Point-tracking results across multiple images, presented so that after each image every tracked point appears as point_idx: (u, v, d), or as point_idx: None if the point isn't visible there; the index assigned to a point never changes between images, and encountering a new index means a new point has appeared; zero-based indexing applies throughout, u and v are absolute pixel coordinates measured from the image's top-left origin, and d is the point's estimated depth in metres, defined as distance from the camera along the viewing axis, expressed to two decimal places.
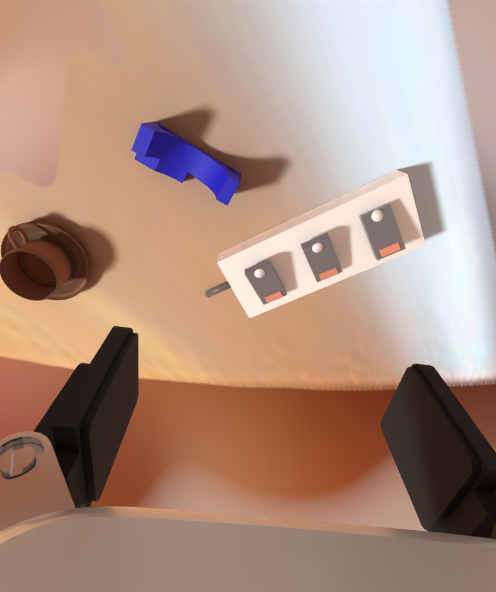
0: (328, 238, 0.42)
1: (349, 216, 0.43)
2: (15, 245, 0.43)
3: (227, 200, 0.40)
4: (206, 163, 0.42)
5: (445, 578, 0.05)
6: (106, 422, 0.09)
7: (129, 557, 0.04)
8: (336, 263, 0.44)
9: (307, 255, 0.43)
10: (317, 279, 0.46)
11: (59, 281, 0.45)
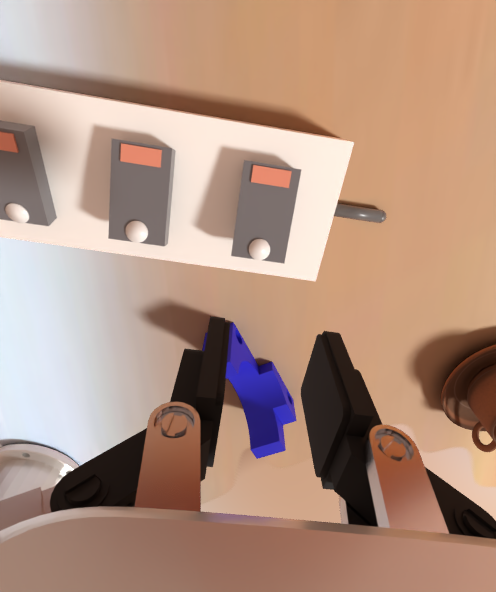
0: (111, 237, 0.22)
1: (74, 224, 0.24)
2: None
3: None
4: None
5: (445, 578, 0.05)
6: None
7: (129, 557, 0.04)
8: (116, 169, 0.21)
9: (161, 226, 0.22)
10: (168, 155, 0.21)
11: None
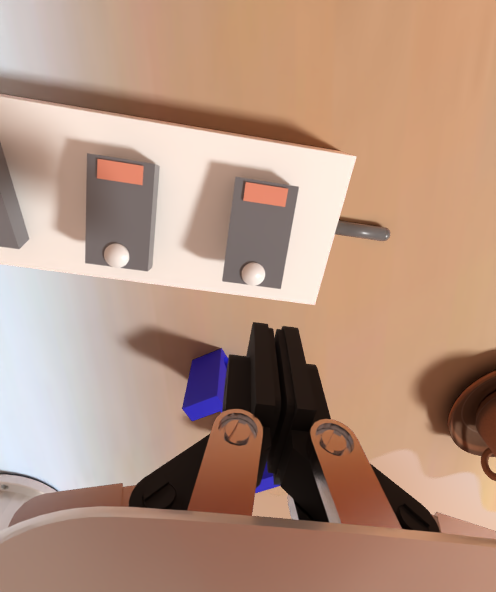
0: (88, 261, 0.20)
1: (49, 245, 0.22)
2: None
3: (213, 400, 0.25)
4: None
5: (445, 578, 0.05)
6: None
7: (129, 557, 0.04)
8: (93, 187, 0.19)
9: (144, 249, 0.20)
10: (150, 172, 0.18)
11: None
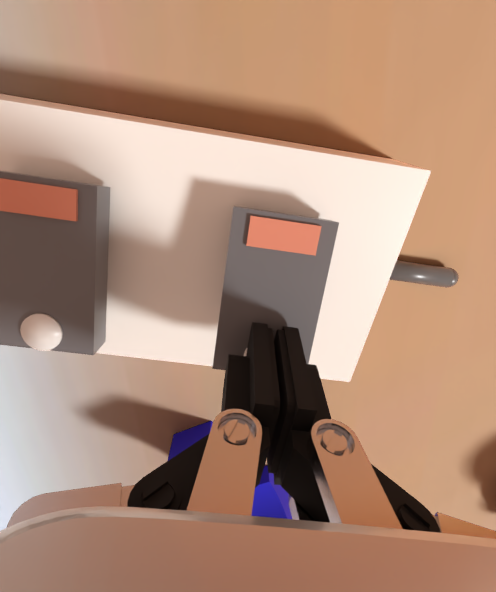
0: None
1: None
2: None
3: None
4: None
5: (445, 577, 0.05)
6: None
7: (129, 557, 0.04)
8: None
9: (86, 322, 0.12)
10: (90, 199, 0.11)
11: None
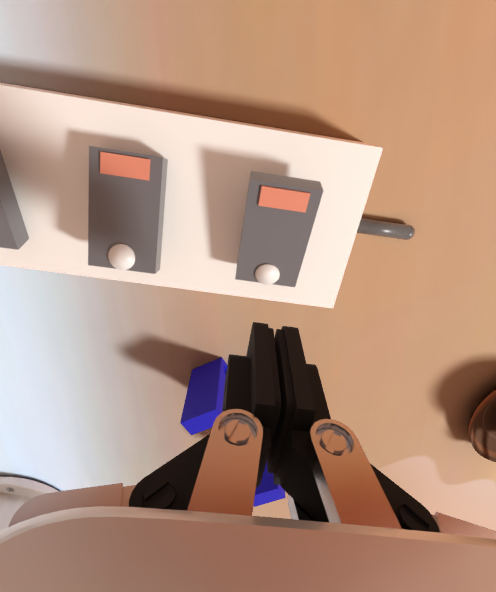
0: (91, 263, 0.18)
1: (50, 245, 0.21)
2: None
3: (212, 414, 0.24)
4: None
5: (445, 577, 0.05)
6: None
7: (129, 557, 0.04)
8: (95, 183, 0.17)
9: (151, 250, 0.18)
10: (158, 166, 0.17)
11: None
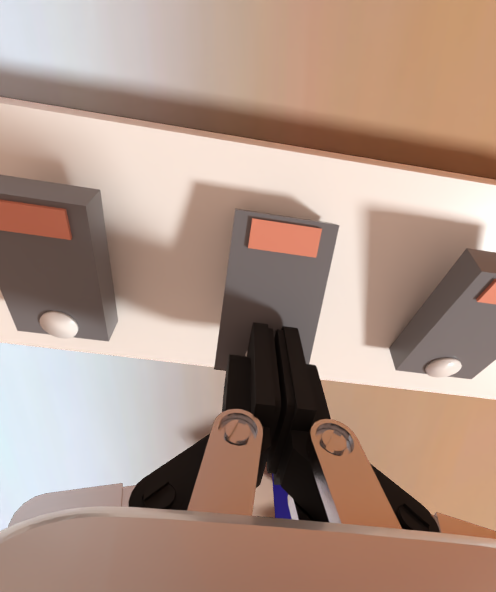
0: (219, 367, 0.13)
1: (143, 327, 0.15)
2: None
3: None
4: None
5: (445, 578, 0.05)
6: None
7: (129, 557, 0.04)
8: (238, 261, 0.12)
9: (304, 349, 0.13)
10: (330, 237, 0.12)
11: None
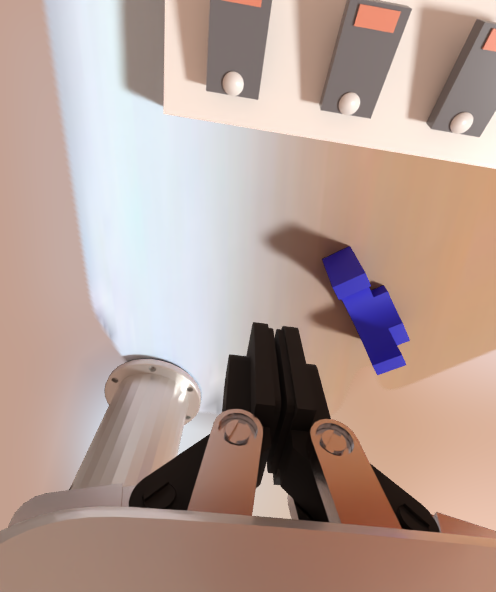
0: (323, 108, 0.24)
1: (271, 103, 0.25)
2: None
3: (361, 277, 0.29)
4: (348, 296, 0.35)
5: (445, 578, 0.05)
6: None
7: (129, 557, 0.04)
8: (346, 35, 0.21)
9: (373, 98, 0.23)
10: (405, 18, 0.20)
11: None
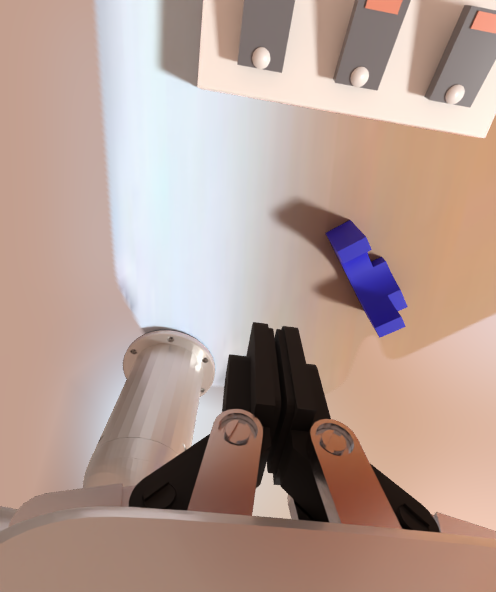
0: (337, 81, 0.27)
1: (292, 78, 0.28)
2: None
3: (362, 241, 0.33)
4: (350, 266, 0.39)
5: (445, 578, 0.05)
6: None
7: (129, 557, 0.04)
8: (358, 16, 0.25)
9: (380, 72, 0.27)
10: (407, 2, 0.24)
11: None
